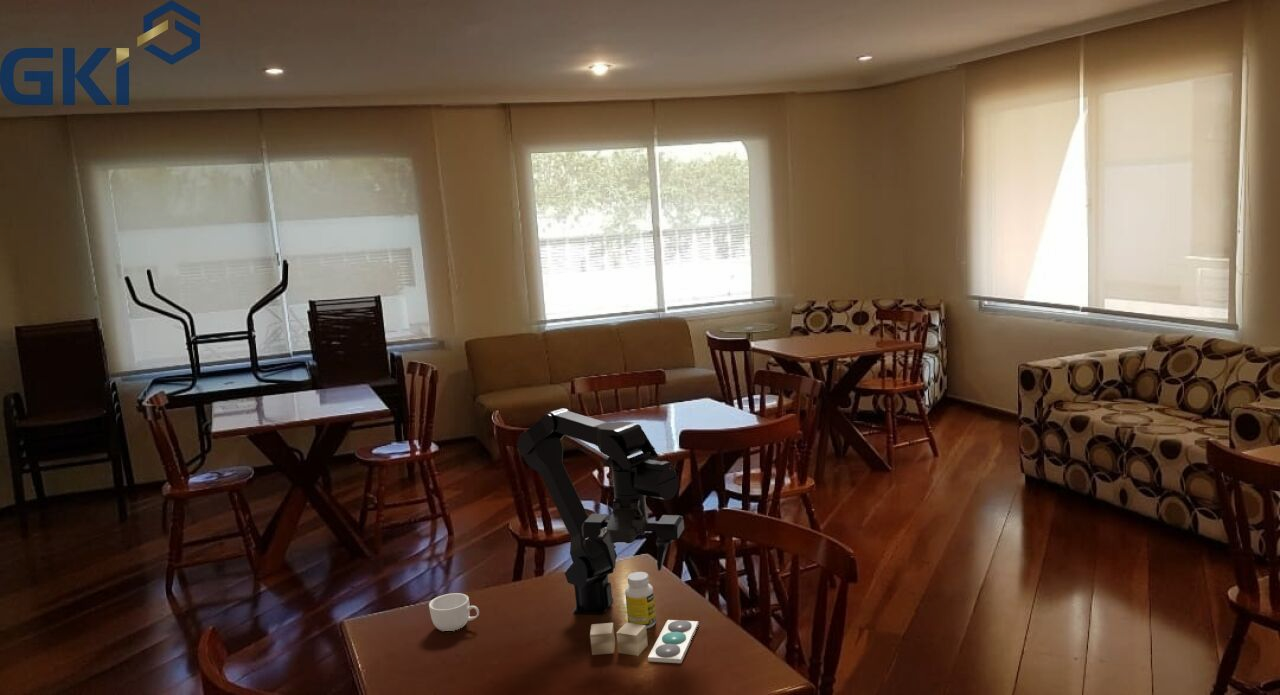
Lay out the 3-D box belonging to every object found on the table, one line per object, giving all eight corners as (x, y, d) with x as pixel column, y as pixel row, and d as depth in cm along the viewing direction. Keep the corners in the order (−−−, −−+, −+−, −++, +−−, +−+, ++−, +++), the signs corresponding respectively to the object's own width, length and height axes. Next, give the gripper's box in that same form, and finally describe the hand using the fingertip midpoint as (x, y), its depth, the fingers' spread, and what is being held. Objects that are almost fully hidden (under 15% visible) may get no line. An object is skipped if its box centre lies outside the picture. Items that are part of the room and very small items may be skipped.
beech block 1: (592, 655, 164) (590, 634, 163) (593, 644, 168) (591, 624, 167) (614, 653, 164) (612, 633, 163) (615, 642, 168) (613, 622, 167)
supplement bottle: (653, 630, 171) (648, 582, 169) (625, 630, 172) (620, 582, 170) (658, 617, 176) (654, 569, 174) (631, 617, 177) (626, 570, 175)
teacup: (425, 635, 177) (422, 610, 176) (442, 617, 185) (438, 592, 184) (473, 636, 175) (469, 610, 174) (488, 618, 182) (484, 593, 181)
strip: (648, 661, 160) (647, 656, 159) (668, 623, 173) (667, 618, 173) (681, 663, 158) (680, 658, 158) (698, 625, 171) (698, 620, 171)
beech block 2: (618, 653, 164) (616, 632, 163) (628, 642, 167) (626, 622, 167) (638, 656, 162) (636, 635, 161) (647, 645, 165) (645, 625, 165)
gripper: (567, 505, 164) (576, 585, 167) (666, 506, 159) (673, 589, 162) (587, 484, 175) (595, 560, 178) (681, 485, 170) (687, 564, 172)
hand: (636, 569), depth 172 cm, fingers open, 9 cm apart
